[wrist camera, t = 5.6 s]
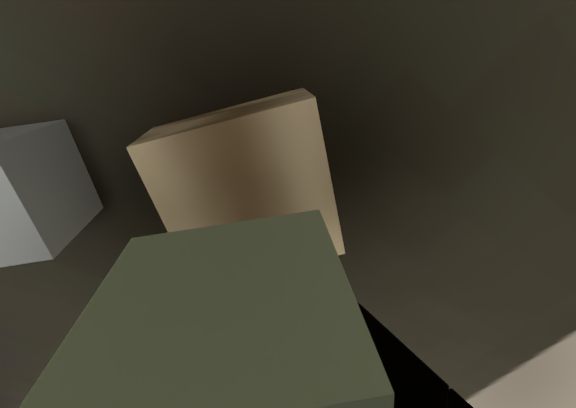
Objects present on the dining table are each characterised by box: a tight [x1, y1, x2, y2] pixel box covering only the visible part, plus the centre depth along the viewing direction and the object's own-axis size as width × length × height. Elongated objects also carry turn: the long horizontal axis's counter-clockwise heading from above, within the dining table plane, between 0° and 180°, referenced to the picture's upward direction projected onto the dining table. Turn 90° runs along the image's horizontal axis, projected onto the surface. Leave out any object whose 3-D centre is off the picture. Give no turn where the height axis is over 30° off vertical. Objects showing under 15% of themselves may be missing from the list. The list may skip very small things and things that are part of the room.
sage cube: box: [19, 210, 394, 408], centre depth 7 cm, size 5×5×5 cm
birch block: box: [126, 88, 345, 255], centre depth 16 cm, size 8×8×4 cm
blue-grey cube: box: [0, 119, 103, 267], centre depth 14 cm, size 5×5×5 cm
